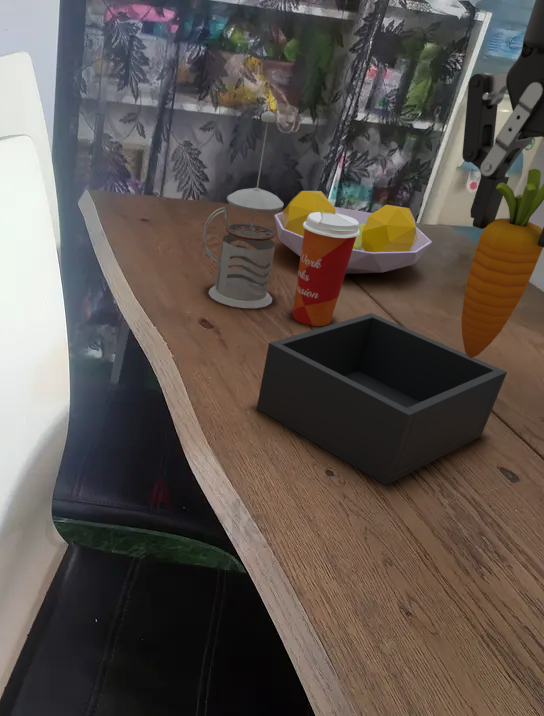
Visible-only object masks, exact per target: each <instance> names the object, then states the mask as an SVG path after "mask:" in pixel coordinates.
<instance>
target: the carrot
mask: <svg viewBox="0 0 544 716" xmlns="http://www.w3.org/2000/svg"><path fill="white" fill-rule="evenodd" d="M541 178H542V172H541V170H540V169H538V168H531V169H529V170H528V173H527V180H526V185H525V186H524V189H523V192H522V194H517V195H515V193H514V190H513V189H512V188H511V187H510V186H509V185H508V184H507V185H506V184H505V183H500V184H498V185H497V187H496V189H497V190H498V191H499V192H500V193H501V194H502V195H503V198H504V200H505V202H506V205H507V207H508V213H509V218H502V217H499V218H495V220H494V221H492V222H490V223H489V224H488V225H487V226H486V228H484V229H483V230H482V232H481V234H480V236H479V239H478V243H477V246H476V249H475V252H474V256H473V259H472V262H471V266H470V269H469V273H468V277H467V280H466V284H465V290H464V297H463V304H462V311H461V320H460V322H461V337H462V343H463V349H464V352H465V354H467V355H468V357H469V358H473V357H474V358H476V357H478V356H479V355H480V354H481V353H482V352H483V351H484V350H486V348H488V347H489V346H490V344H492V343H493V342H494V340H495V339H496V338H497V336H498V335H499V334H500V333H501V332H502V330H503V329H504V327H505V326H506V324H507V322H508V321H509V319H510V317H511V316H512V314H513V312H514V311H515V309H516V308H517V305H518V304H519V302H520V300H521V298H522V296H523V295H524V293H525V291H526V289H527V287H528V284H529V282H530V280H531V278H532V275H533V273H534V271H535V268H536V266H537V264H538V261H539V259H540V256H541V254H542V252H543V249H544V247H540V246H538V241H539V238H540V235H541V233H542V230H543V227H541V226H539V225H536V224H535V223H533V222H531V221H530V218H531V217H532V216H533V215H534V213H535V212H536V211H537V209H539V207H540V206H541V204H542V203H543V202H544V183H543V184H542V185H541Z"/></svg>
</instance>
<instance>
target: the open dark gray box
mask: <svg viewBox="0 0 544 716" xmlns="http://www.w3.org/2000/svg"><path fill="white" fill-rule="evenodd" d="M507 374H508V372H507V371H506V370H504V369H502V368H499V367H496V366H495V365H492V364H490V363H488V362H485V361H483V360H480V359H479V358H476V357H473V358H469V357H468V355H467V354H466V352H465V353H464V352H463V351H459V350H458V349H455V348H453V347H451V346H448V345H446V344H444V343H442V342H439V341H437V340H434V339H432V338H430V337H427V336H426V335H423V334H421V333H418V332H416V331H413V330H412V329H410V328H407V327H404V326H402V325H400V324H398V323H395V322H394V321H390V320H389V319H386V318H384V317H381V316H379V315H377V314H375V313H372V312H370V313H366V314H364V315H363V314H362V315H360V316H356V317H353V318H350V319H347V320H343V321H339V322H336V323H332V324H328V325H324V326H321V327H318V328H315V329H312V330H308V331H305V332H302V333H299V334H295V335H291V336H288V337H284V338H282V339H277V340H273V341H271V342H269V343H268V346H267V351H266V357H265V362H264V367H263V372H262V379H261V385H260V388H259V394H258V399H257V403H256V410H258V411H259V412H261V413H263V414H265V415H267V416H268V417H270V418H271V419H273V420H275V421H277V422H278V423H280V424H282V425H283V426H285V427H286V428H289V429H290V430H292V431H293V432H295V433H297V434H298V435H300V436H302V437H303V438H305V439H307V440H309V441H310V442H311V443H313V444H315V445H317V446H319V447H320V448H322V449H324V450H325V451H327V452H329V453H330V454H332V455H333V456H336V457H337V458H338V459H341V460H342V461H344V462H345V463H347V464H349V465H351V466H352V467H354V468H356V469H357V470H358V471H360V472H362V473H364V474H366V475H367V476H369V477H371V478H372V479H373V480H375V481H378V482H379V483H381V484H383V486H388V485H390V484H392V483H394V482H395V481H398V480H400V479H402V478H403V477H405V476H407V475H410V474H411V473H413V472H415V471H417V470H419V469H421V468H423V467H425V466H427V465H428V464H431V463H433V462H435V461H436V460H439V459H441V458H442V457H444V456H446V455H448V454H450V453H452V452H453V451H456V450H458V449H460V448H461V447H464V446H465V445H468V444H470V443H471V442H473V441H475V440H477V439H479V438H481V437H482V435H483V433H484V430H485V428H486V426H487V423H488V421H489V418H490V416H491V413H492V410H493V407H494V406H495V403H496V402H497V401H496V400H497V398H498V396H499V393H500V391H501V388H502V386H503V383H504V381H505V379H506V376H507Z"/></svg>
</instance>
